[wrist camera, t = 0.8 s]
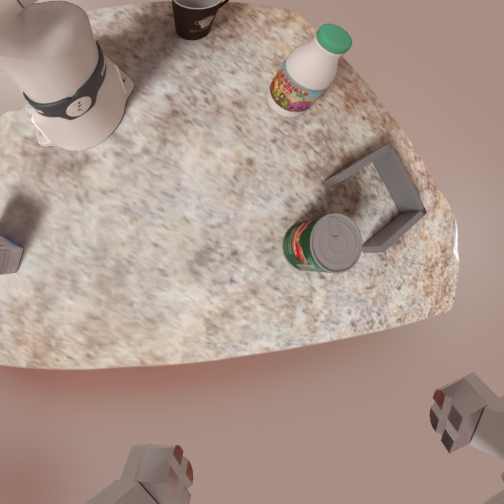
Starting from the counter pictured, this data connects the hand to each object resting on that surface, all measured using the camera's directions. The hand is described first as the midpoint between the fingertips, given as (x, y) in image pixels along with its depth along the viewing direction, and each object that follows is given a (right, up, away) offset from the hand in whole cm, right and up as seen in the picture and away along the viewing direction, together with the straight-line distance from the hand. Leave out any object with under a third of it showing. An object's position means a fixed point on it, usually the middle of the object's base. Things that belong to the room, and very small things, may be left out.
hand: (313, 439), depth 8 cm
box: (+19, +15, +45) cm, 51 cm away
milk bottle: (+4, +32, +42) cm, 53 cm away
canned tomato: (+7, +7, +42) cm, 43 cm away
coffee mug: (-12, +48, +38) cm, 62 cm away
